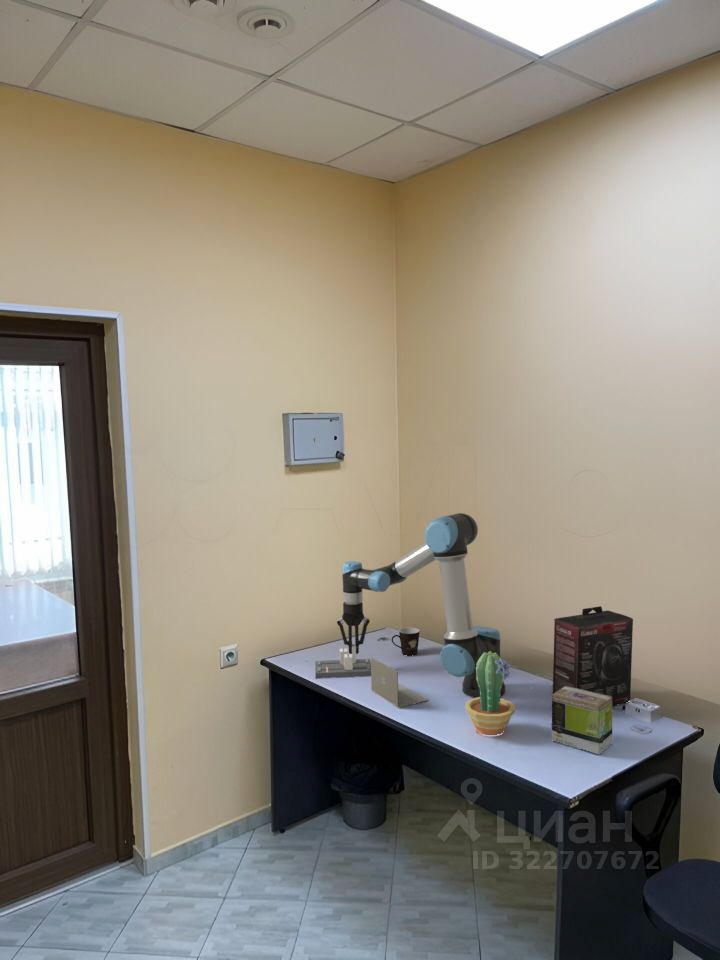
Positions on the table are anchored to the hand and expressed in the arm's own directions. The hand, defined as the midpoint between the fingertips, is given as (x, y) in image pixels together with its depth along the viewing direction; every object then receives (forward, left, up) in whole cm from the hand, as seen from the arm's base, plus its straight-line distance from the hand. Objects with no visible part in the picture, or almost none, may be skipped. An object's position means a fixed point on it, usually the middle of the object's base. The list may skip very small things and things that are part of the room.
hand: (354, 661), depth 270 cm
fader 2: (0, +2, -2) cm, 3 cm away
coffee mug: (+20, -23, -5) cm, 31 cm away
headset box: (-38, -79, -5) cm, 88 cm away
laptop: (-25, -14, -5) cm, 29 cm away
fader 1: (+7, +4, -2) cm, 8 cm away
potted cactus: (-56, -39, -5) cm, 68 cm away
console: (+3, +4, -5) cm, 7 cm away
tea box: (-67, -64, -5) cm, 93 cm away
